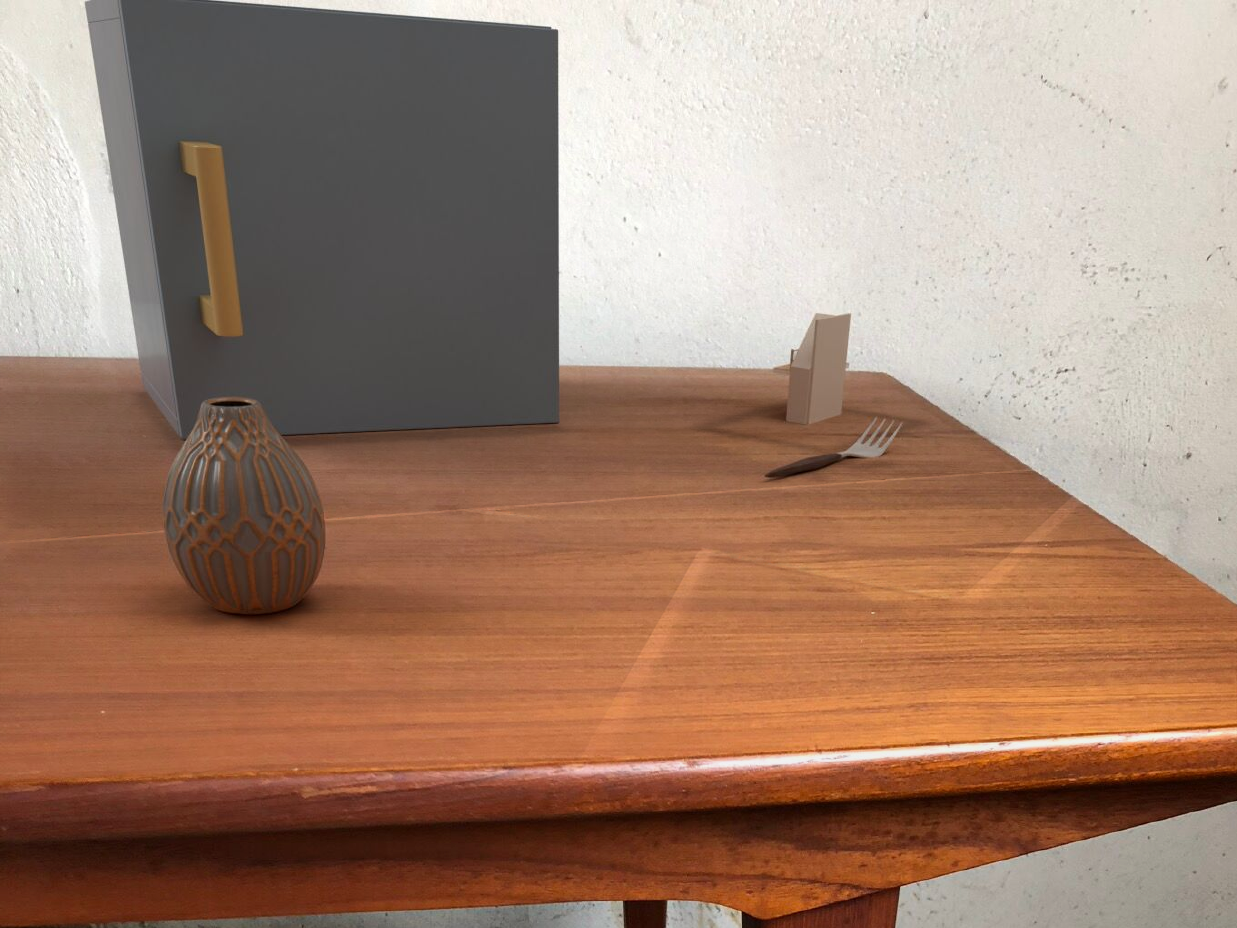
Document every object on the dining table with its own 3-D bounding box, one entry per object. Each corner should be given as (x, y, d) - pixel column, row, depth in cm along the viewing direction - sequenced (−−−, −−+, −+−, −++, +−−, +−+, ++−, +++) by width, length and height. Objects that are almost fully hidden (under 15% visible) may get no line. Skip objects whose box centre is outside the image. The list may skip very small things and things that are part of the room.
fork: (747, 480, 88) (750, 448, 87) (870, 445, 99) (874, 416, 98) (781, 488, 87) (784, 455, 86) (902, 451, 98) (905, 422, 97)
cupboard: (553, 421, 101) (551, 26, 88) (179, 438, 90) (116, -8, 78) (476, 377, 115) (464, 30, 102) (143, 387, 104) (84, 1, 91)
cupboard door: (589, 439, 96) (593, 28, 83) (196, 459, 85) (132, -9, 72) (554, 420, 101) (553, 29, 88) (179, 436, 90) (117, -5, 78)
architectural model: (768, 419, 106) (776, 314, 102) (810, 406, 111) (818, 307, 107) (807, 425, 104) (816, 320, 100) (847, 413, 109) (858, 312, 105)
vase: (295, 632, 60) (273, 423, 55) (147, 617, 61) (113, 409, 56) (354, 586, 66) (338, 394, 61) (218, 572, 67) (192, 382, 62)
